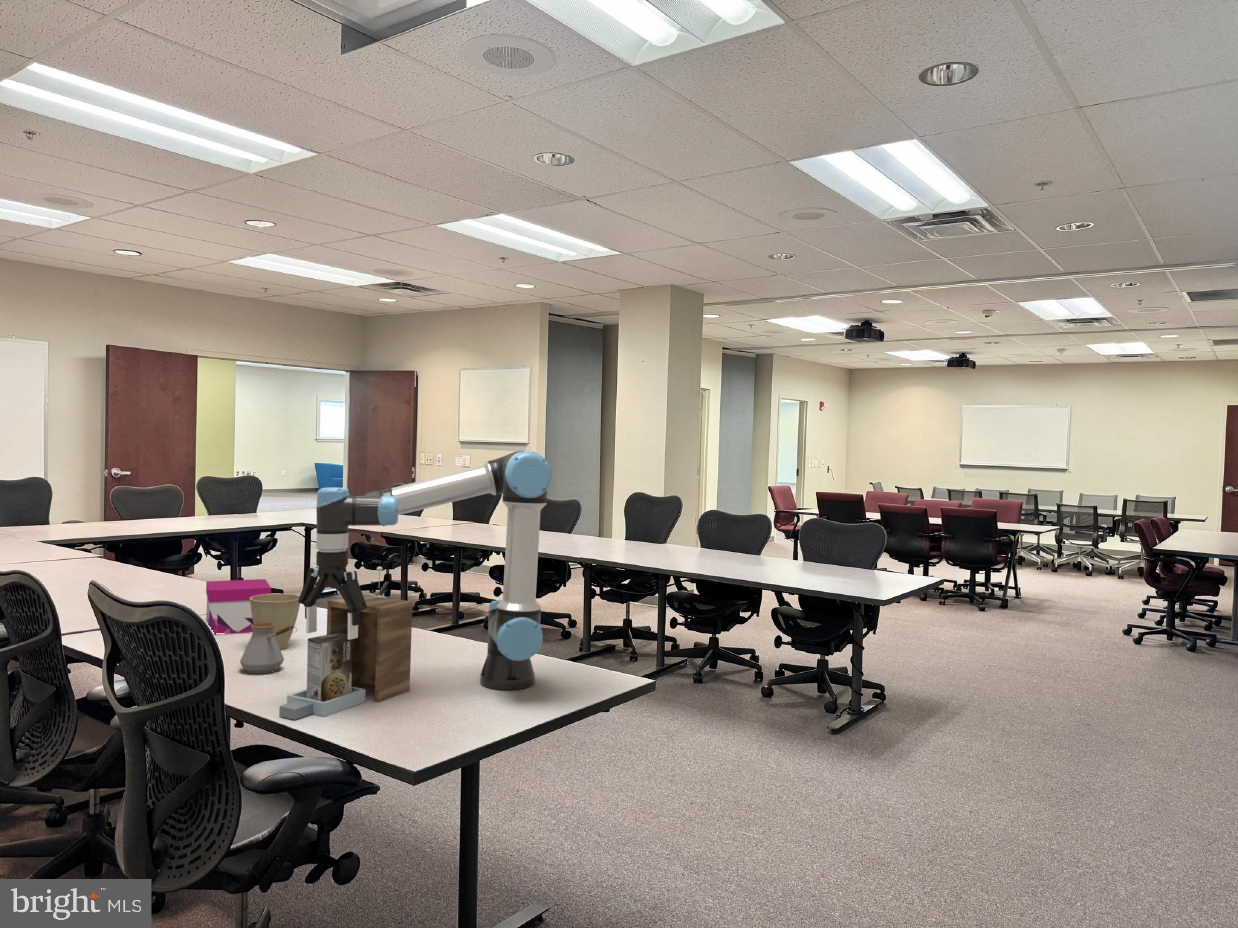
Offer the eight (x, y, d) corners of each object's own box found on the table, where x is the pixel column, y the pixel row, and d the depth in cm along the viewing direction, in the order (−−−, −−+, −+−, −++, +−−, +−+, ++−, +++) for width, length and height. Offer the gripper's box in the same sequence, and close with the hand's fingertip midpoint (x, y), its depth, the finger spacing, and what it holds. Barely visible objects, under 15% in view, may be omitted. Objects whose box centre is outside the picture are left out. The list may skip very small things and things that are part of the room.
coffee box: (337, 694, 216) (338, 631, 216) (352, 700, 213) (354, 636, 212) (304, 702, 209) (306, 637, 209) (320, 708, 205) (322, 641, 205)
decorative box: (205, 624, 295) (206, 581, 295) (264, 620, 304) (265, 579, 304) (207, 635, 279) (208, 590, 278) (269, 631, 288) (271, 587, 287)
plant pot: (288, 654, 258) (289, 602, 258) (239, 652, 259) (241, 600, 258) (307, 643, 273) (308, 594, 273) (261, 641, 274) (262, 592, 273)
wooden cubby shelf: (409, 691, 225) (412, 601, 225) (378, 702, 214) (381, 608, 214) (357, 681, 233) (360, 593, 232) (324, 691, 222) (327, 600, 222)
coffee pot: (231, 669, 239) (233, 617, 239) (270, 662, 249) (271, 611, 248) (272, 685, 226) (274, 629, 226) (311, 676, 235) (312, 623, 235)
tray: (365, 701, 214) (365, 689, 214) (305, 723, 197) (306, 709, 197) (329, 694, 219) (329, 681, 219) (268, 714, 202) (268, 701, 202)
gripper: (382, 551, 208) (381, 637, 209) (306, 545, 219) (306, 626, 220) (360, 555, 201) (359, 644, 202) (283, 548, 212) (283, 632, 213)
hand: (331, 635), depth 211 cm, fingers open, 13 cm apart
